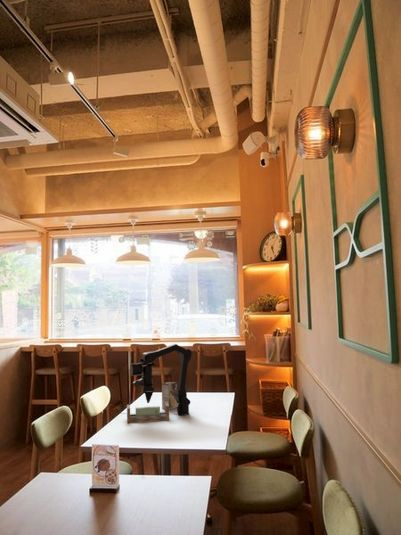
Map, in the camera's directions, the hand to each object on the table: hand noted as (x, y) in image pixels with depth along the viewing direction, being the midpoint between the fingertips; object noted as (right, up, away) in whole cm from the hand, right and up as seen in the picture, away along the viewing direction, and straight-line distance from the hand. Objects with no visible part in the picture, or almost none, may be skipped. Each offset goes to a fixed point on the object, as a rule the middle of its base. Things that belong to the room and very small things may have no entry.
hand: (147, 401), depth 248 cm
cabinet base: (0, -10, -1) cm, 10 cm away
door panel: (0, -9, -1) cm, 9 cm away
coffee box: (+11, -14, +28) cm, 33 cm away
